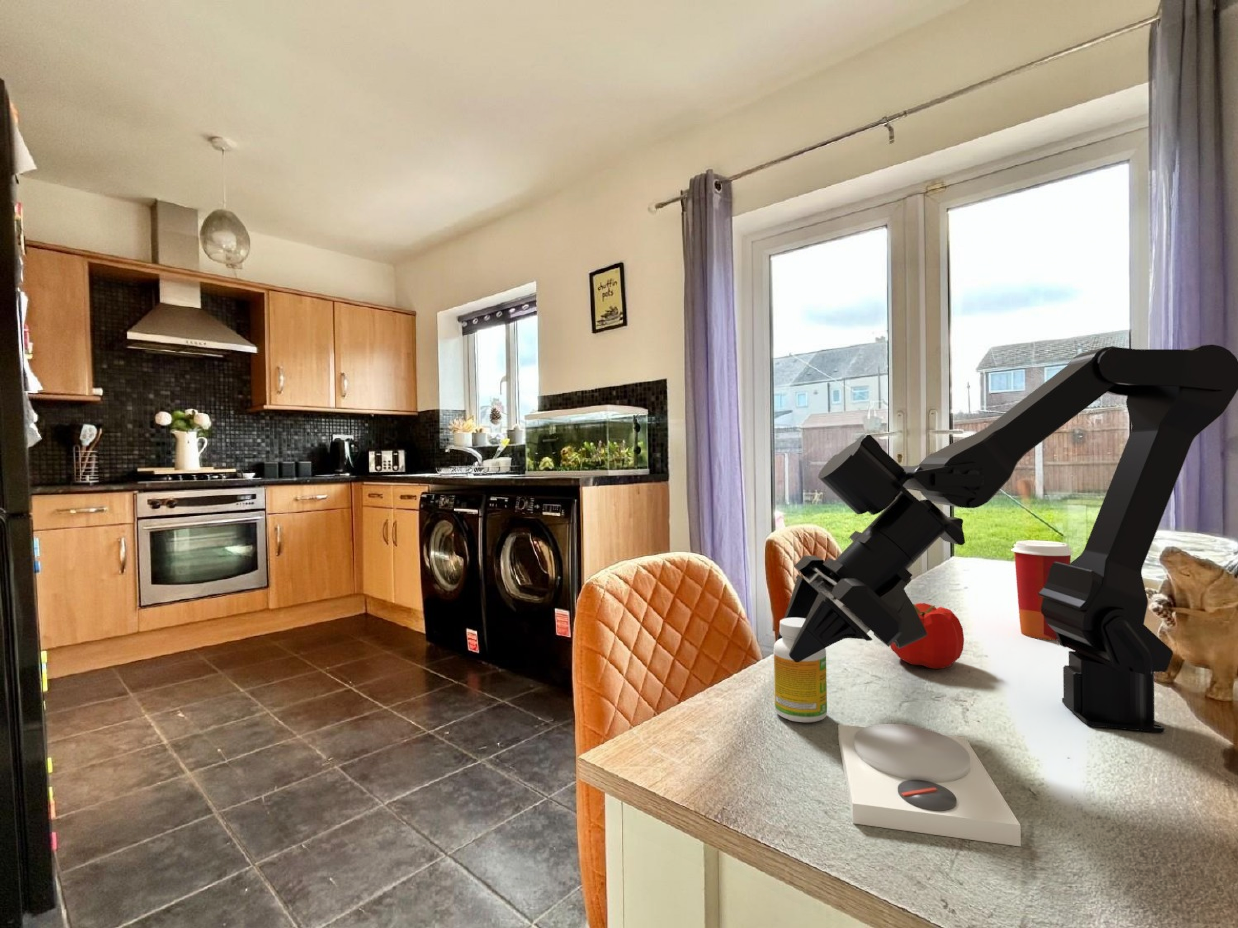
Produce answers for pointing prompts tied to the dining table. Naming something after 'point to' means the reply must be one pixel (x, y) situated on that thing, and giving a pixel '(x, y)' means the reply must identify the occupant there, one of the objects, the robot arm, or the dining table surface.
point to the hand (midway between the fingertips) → (786, 650)
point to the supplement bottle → (798, 678)
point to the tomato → (934, 639)
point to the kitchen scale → (922, 784)
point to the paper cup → (1036, 582)
